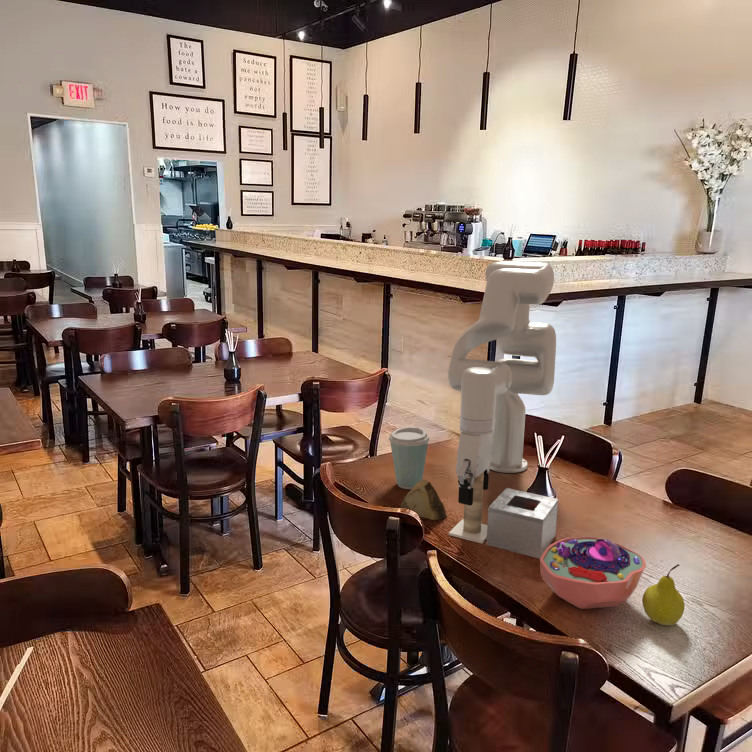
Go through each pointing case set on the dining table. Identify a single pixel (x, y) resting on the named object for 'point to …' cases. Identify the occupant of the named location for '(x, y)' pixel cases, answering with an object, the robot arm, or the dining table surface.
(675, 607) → the fruit
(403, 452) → the disposable coffee cup
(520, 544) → the grey square box
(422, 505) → the rock
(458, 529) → the mat
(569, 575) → the cell model
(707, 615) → the dining table surface
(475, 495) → the beige segmented cylinder
